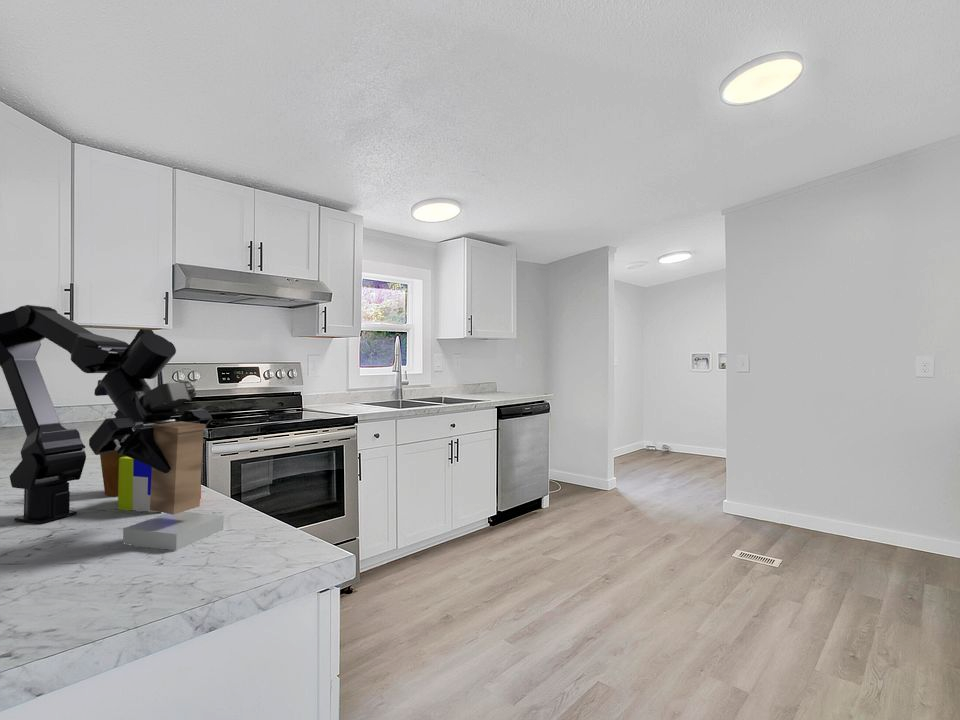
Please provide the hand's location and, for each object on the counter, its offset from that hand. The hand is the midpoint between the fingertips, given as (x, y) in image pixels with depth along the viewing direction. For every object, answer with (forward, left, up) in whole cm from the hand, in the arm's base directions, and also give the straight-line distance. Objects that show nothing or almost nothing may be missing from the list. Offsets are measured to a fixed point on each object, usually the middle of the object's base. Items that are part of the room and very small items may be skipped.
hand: (182, 468), depth 84 cm
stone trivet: (-1, 0, -12) cm, 12 cm away
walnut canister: (-1, 0, -7) cm, 7 cm away
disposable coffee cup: (-34, +20, -12) cm, 41 cm away
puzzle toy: (-19, +15, -12) cm, 27 cm away
